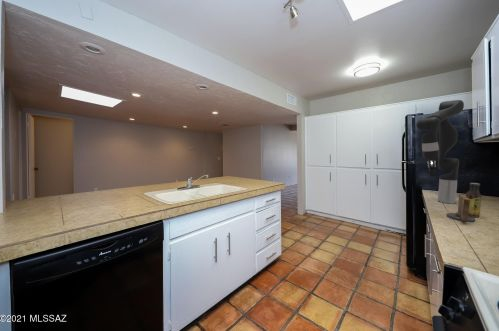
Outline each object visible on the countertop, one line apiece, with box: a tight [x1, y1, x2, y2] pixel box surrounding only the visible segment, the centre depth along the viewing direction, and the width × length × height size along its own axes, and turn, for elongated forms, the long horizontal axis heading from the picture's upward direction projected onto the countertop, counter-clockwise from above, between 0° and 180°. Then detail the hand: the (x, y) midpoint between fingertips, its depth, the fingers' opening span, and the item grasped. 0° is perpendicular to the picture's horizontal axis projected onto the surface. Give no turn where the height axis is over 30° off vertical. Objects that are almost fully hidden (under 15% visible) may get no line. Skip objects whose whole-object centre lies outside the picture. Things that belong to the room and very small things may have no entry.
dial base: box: [446, 212, 476, 223], centre depth 109 cm, size 11×11×1 cm
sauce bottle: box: [465, 182, 482, 218], centre depth 112 cm, size 6×6×20 cm
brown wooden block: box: [454, 193, 470, 223], centre depth 105 cm, size 13×4×12 cm, turn 139°
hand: (432, 176), depth 119 cm, fingers closed
